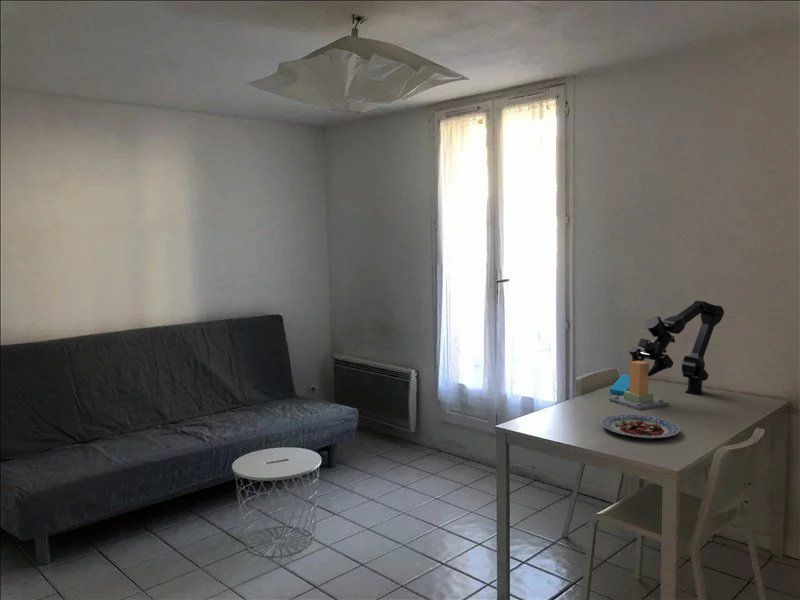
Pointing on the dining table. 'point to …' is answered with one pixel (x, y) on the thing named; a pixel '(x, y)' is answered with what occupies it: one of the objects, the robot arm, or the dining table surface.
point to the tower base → (639, 405)
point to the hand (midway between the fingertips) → (639, 373)
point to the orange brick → (639, 377)
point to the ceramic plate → (640, 426)
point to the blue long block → (621, 385)
